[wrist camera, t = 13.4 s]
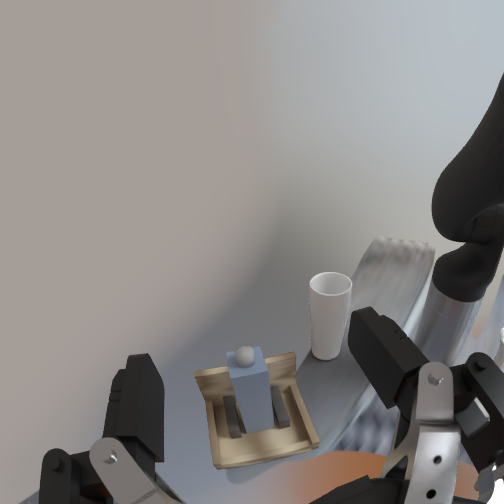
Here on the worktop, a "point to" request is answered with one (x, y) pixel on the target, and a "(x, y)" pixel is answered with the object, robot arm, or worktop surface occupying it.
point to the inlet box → (263, 442)
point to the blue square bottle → (251, 387)
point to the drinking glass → (328, 312)
